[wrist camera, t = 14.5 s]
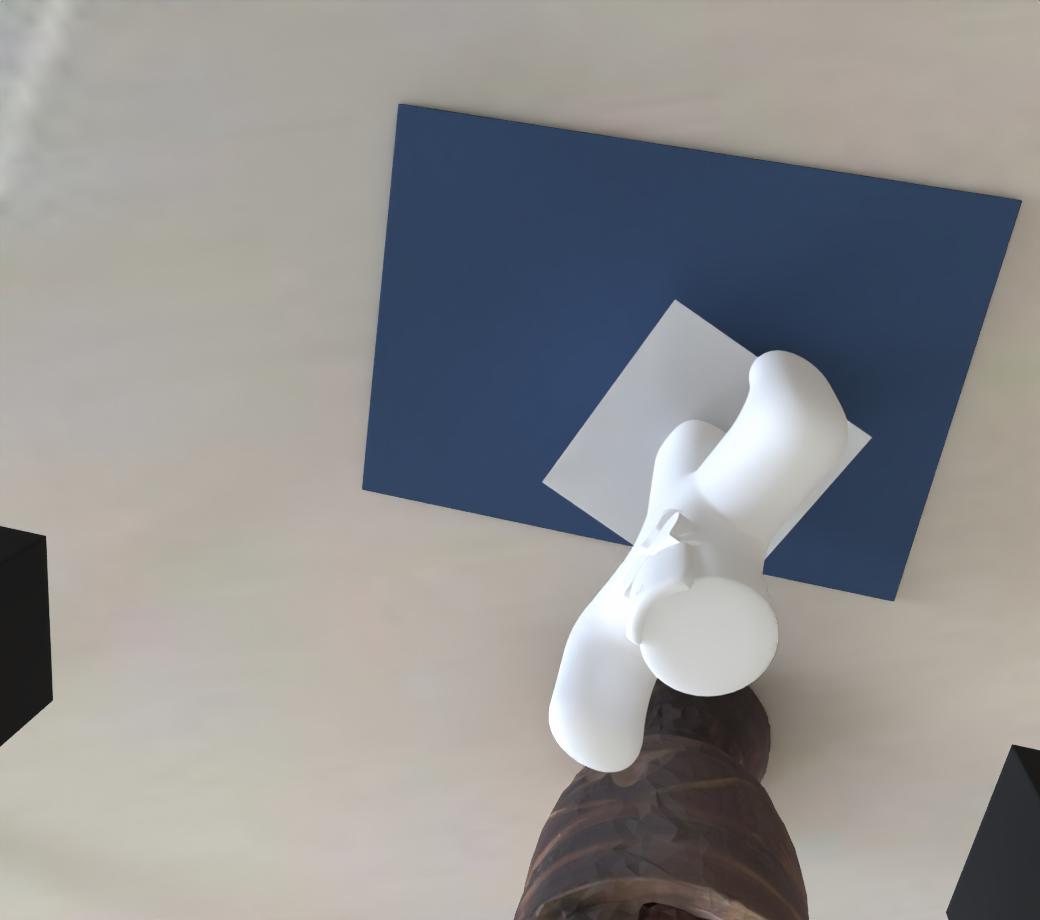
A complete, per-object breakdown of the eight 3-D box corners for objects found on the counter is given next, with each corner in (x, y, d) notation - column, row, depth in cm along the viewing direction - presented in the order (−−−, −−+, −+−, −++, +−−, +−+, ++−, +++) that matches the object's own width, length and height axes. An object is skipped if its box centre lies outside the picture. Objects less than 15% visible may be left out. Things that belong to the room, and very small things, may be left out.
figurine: (875, 380, 31) (1020, 571, 17) (702, 582, 34) (703, 881, 20) (697, 255, 31) (695, 343, 17) (541, 471, 34) (430, 695, 20)
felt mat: (401, 103, 31) (398, 103, 31) (1019, 200, 29) (1022, 200, 28) (364, 487, 36) (361, 489, 36) (892, 598, 33) (894, 602, 33)
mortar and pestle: (465, 726, 38) (242, 1266, 20) (549, 558, 35) (380, 1009, 17) (717, 851, 38) (733, 1520, 19) (825, 692, 35) (966, 1307, 16)
